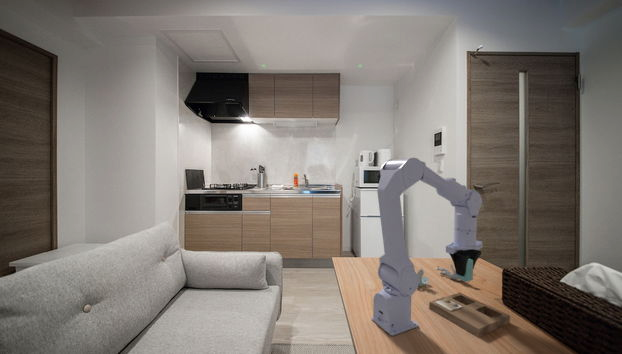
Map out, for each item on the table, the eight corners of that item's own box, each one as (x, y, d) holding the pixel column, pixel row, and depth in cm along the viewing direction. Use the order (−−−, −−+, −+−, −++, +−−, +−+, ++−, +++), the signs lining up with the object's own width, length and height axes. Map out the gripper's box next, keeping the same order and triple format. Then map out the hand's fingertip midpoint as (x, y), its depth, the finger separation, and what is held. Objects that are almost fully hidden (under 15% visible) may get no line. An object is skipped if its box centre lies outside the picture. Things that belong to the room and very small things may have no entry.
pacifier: (403, 284, 90) (419, 290, 85) (403, 267, 90) (418, 272, 85) (415, 279, 94) (430, 285, 89) (415, 263, 94) (430, 267, 89)
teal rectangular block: (466, 281, 72) (466, 261, 72) (456, 277, 75) (457, 258, 75) (472, 279, 74) (473, 260, 73) (462, 276, 76) (463, 256, 76)
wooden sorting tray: (478, 337, 60) (478, 327, 60) (429, 308, 73) (429, 300, 73) (509, 322, 67) (510, 313, 67) (459, 298, 79) (459, 291, 79)
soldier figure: (446, 274, 101) (477, 275, 91) (443, 285, 98) (475, 287, 89) (434, 262, 100) (464, 262, 90) (432, 273, 97) (462, 273, 87)
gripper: (462, 234, 67) (461, 283, 68) (493, 229, 74) (492, 274, 74) (439, 229, 74) (438, 274, 74) (469, 225, 80) (468, 266, 80)
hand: (464, 274), depth 74 cm, fingers closed on teal rectangular block, 3 cm apart
